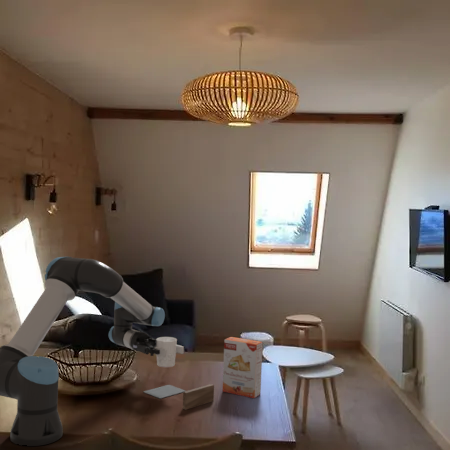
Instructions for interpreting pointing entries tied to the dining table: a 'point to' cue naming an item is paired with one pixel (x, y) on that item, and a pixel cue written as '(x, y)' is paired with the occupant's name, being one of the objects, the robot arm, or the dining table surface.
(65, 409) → the dining table surface
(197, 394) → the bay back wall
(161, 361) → the white cup
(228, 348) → the cracker box
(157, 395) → the front mat
